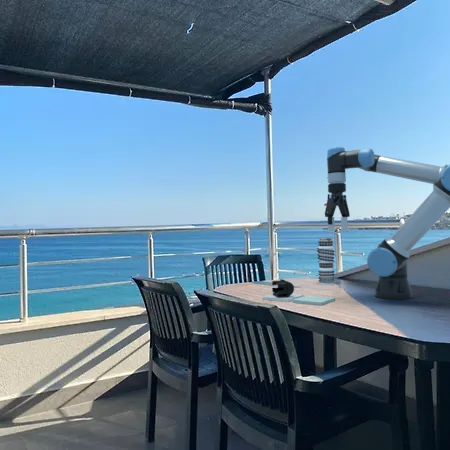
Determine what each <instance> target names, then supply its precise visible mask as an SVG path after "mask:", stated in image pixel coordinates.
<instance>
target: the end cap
mask: <svg viewBox="0 0 450 450" xmlns="http://www.w3.org/2000/svg"><path fill="white" fill-rule="evenodd" d="M271 284H272V286H277V287H272V289H271V291H272V294H273V295H274V296H276V297H278V298H285V297H289V296H290V295H291V294H294V291H295V287H294V284H293V283H292V282H290V281H288V280H285V279H281V278H280V280H272V281H271Z"/></svg>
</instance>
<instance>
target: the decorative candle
mask: <svg viewBox="0 0 450 450" xmlns="http://www.w3.org/2000/svg"><path fill="white" fill-rule="evenodd" d="M333 241H334V240H333V238H331V237H320V239H319V240H318V248H316V249H317V250H316V252H317V256H318V257H317V259H318V261H317V262H318V284H319V285H325V286H328V285H329V286H330V285H331V286H332V285H335V282H336V280H335V269H334V263H335V260H334V259H335V257H334V256H335V250H334V245H333V243H334V242H333Z"/></svg>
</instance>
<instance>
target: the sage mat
mask: <svg viewBox="0 0 450 450" xmlns="http://www.w3.org/2000/svg"><path fill="white" fill-rule="evenodd" d="M335 301H336V297H330V296H322V295H321V296H318V295H309V294H308V295H305V296H304V295H303V297H300V298H296V299H293V300H292V301H291V302H292V303H294V304H304V305H305V304H306V305H313V306H325V305H327V304H330V303H333V302H335Z"/></svg>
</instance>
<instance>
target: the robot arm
mask: <svg viewBox="0 0 450 450" xmlns="http://www.w3.org/2000/svg"><path fill="white" fill-rule="evenodd" d="M326 155H327V156H326V157H327V158H326V160H327V161H326V162H327V163H326V165H327V166H326V167H327V178H326V179H327V183H328V185H327V192H328V194H327V201H326V205H325V206H326V207H325V211H324V217H325V218H327V233H335V232H336V230H335V229H336V227H335V217H334V216H335V211H336V209H337V207H338V210H339V213H340V215H341V217H340V228H341V230H340V232H341V233H346V232H348V231H349V227H348V225H349V223H348V218H350V209H349V205H348V202H347V195H346V194H343V193H346V191H347V185H346V178H347V177H346V170H348V169H360V170H363V171H364V172H371V173H377V174H382V175H387V176H392V177H397V178H401V179H407V180H412V181H416V182H421V183H426V184H431V185H432V191H431V193H429V195H428V196H427V197H426V198H425V199H424V200H423V201H422V203H420V205H419V206H418V207H417V208H416V210H415V211H414V212H413V213H412V214H411V215H410V216H409V217H408V218H407V220H406V221H405V222H404V223H403V224H402V225H401V226H400V227H399V228H398V230H397V231H396V232H395V233H394V234H393V235H392V236H391V237H385V238H384V239H383V240H382V242H380V243H378V246H377V247H376V248H374V249H372V250H371V251H370V252H369V254H368V256H367V259H366V262H367V267H368V269H369V270H370V272H372V274H374V275H375V276H377V277H378V280H377V283H376V287H375V289H374V290H375V291H374V296H375V297H377V298H380V299H388V300H389V299H390V300H404V299H405V300H406V299H411V298H413V291H412V288H411V285H410V283H409V280H408V279H409V278H408V259H409V258H410V251H411V250H412V249H413V248H414V247H415V246H416V245H417V243H419V242H420V240H421V239H423V237H424V236H425V235H426V234H427V233H428V232H429V231H430V230H431V229H432V228H433V226H434V225H435V224H437V222H438V221H439V220H440V219H441V218H442V217H443V216H444V215H445V214H446V213H447V211H448V210H449V209H450V163H449V164H445V165H443V166H440V165H434V164H429V163H424V162H416V161H413V160H407V159H406V160H405V159H400V158H395V157H389V156H384V155H379V154H375V152H374V149H373V148H362V149H355V150H347V151H346V149H345V148H344V147H343V146H336V147H335V146H334V147H331V148H328V149H327V154H326Z"/></svg>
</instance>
